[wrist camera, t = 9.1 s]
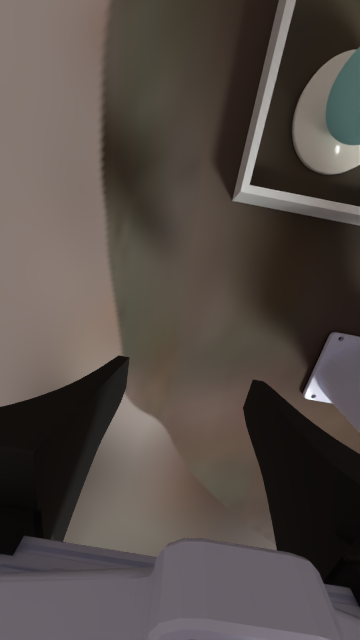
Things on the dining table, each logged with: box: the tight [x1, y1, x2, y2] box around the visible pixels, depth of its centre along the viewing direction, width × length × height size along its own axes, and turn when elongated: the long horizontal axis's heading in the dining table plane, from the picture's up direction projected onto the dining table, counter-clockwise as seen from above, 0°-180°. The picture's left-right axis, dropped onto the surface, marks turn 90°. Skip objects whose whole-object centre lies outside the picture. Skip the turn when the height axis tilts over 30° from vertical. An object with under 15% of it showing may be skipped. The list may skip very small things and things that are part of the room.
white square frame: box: [232, 0, 360, 226], centre depth 14 cm, size 13×13×3 cm
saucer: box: [292, 49, 360, 175], centre depth 15 cm, size 7×7×1 cm
